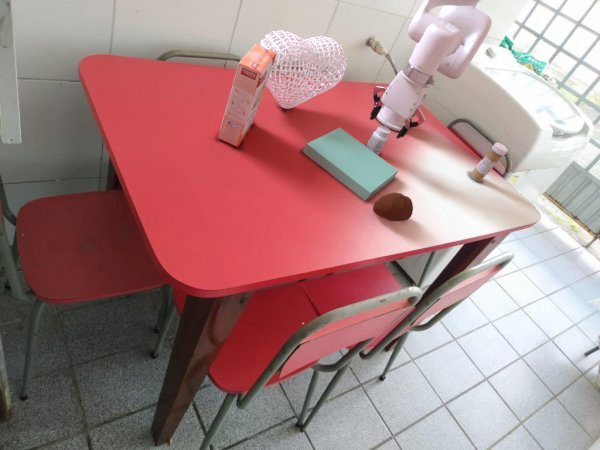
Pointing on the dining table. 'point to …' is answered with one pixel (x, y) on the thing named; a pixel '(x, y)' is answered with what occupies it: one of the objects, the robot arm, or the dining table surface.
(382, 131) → the pill bottle
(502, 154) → the sprinkles bottle
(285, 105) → the heart
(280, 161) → the dining table surface
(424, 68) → the robot arm
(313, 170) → the dining table surface
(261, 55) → the cracker box
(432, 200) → the dining table surface
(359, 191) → the foam pad
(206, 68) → the dining table surface
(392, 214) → the potato
